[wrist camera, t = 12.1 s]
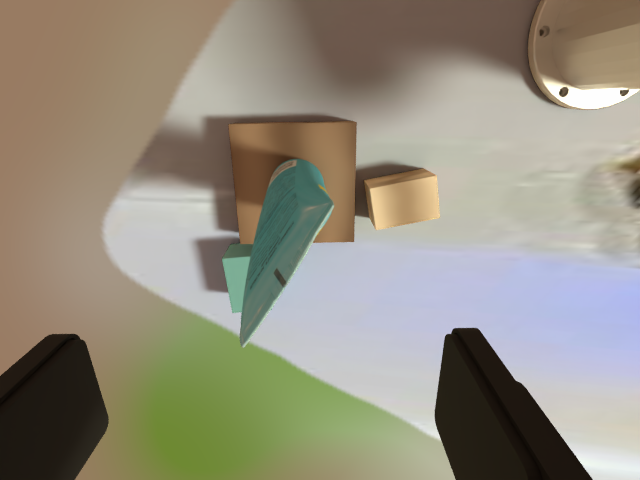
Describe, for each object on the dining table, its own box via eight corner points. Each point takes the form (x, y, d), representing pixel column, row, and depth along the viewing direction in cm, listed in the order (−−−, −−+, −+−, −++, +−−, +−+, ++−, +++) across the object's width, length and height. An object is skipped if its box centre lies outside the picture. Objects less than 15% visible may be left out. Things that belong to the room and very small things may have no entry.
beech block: (423, 168, 35) (436, 175, 31) (426, 206, 37) (439, 217, 33) (363, 179, 35) (369, 188, 32) (369, 217, 37) (375, 230, 33)
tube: (304, 230, 34) (294, 369, 16) (257, 208, 33) (190, 329, 15) (340, 159, 32) (377, 226, 14) (290, 134, 31) (260, 169, 13)
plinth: (352, 121, 33) (356, 122, 30) (350, 231, 37) (353, 241, 34) (235, 123, 33) (228, 124, 30) (245, 233, 37) (240, 244, 34)
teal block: (230, 243, 38) (222, 258, 34) (268, 240, 37) (263, 255, 34) (239, 293, 40) (232, 312, 36) (275, 290, 40) (271, 309, 36)
